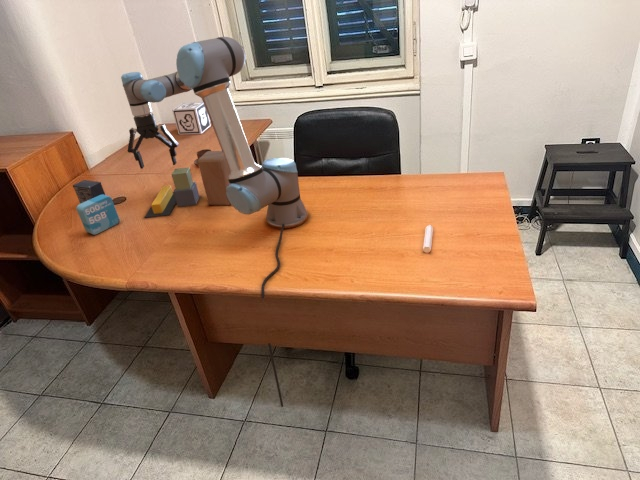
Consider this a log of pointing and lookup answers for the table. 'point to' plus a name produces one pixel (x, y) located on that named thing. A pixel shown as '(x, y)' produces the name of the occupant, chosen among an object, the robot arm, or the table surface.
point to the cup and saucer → (199, 154)
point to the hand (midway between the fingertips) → (158, 165)
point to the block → (215, 177)
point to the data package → (98, 214)
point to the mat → (166, 211)
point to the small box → (88, 190)
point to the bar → (162, 199)
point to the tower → (185, 187)
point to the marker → (428, 239)
